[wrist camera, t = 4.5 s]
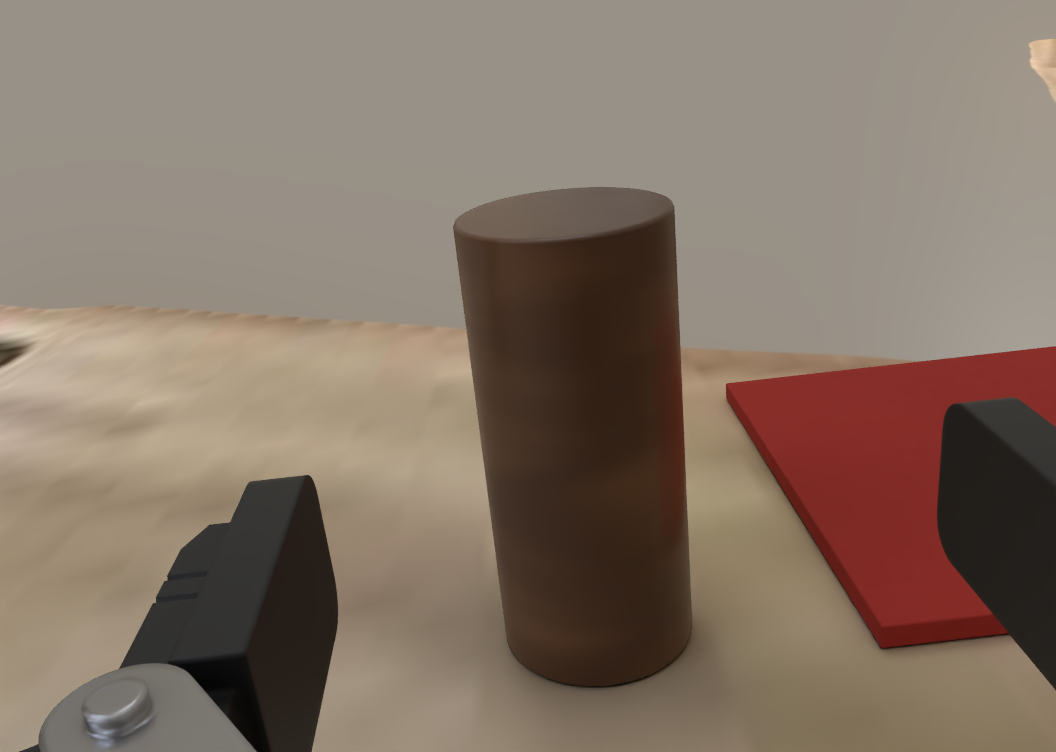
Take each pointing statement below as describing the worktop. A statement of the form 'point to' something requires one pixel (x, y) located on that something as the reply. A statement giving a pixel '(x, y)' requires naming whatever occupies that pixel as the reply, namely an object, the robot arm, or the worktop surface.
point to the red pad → (886, 477)
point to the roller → (581, 426)
